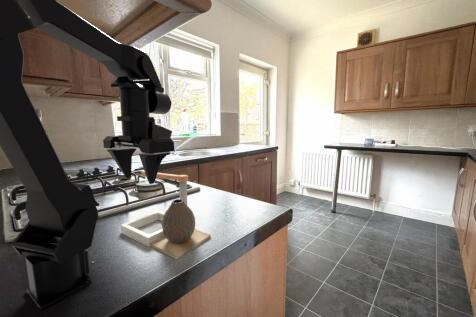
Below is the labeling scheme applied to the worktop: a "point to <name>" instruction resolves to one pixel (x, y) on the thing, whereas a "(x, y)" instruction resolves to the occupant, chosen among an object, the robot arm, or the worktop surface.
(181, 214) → the vase
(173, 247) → the mat
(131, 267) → the worktop surface
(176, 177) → the orange flat bar
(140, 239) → the socket
